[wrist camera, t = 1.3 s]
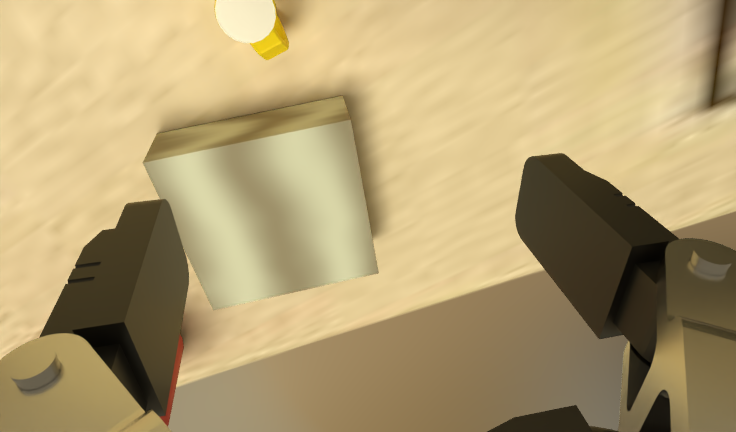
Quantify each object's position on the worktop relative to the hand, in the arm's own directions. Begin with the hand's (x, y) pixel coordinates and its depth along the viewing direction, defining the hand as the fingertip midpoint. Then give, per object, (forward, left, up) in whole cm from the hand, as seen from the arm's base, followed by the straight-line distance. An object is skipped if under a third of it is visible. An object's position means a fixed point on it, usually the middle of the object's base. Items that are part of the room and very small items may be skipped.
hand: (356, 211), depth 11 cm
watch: (+3, -2, -21) cm, 21 cm away
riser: (+5, +11, -21) cm, 24 cm away
